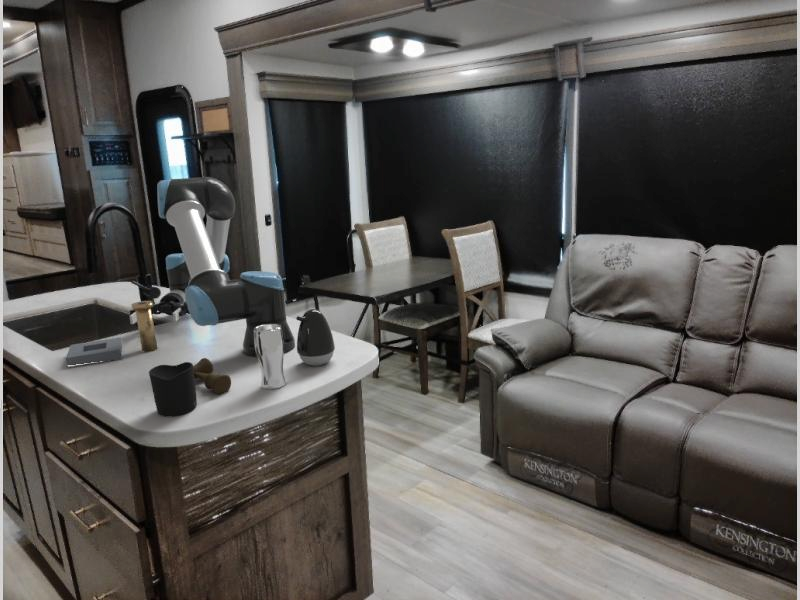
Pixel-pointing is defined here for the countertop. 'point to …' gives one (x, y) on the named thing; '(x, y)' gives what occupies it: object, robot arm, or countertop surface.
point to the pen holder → (174, 388)
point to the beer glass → (270, 355)
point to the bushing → (145, 325)
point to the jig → (94, 351)
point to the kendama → (211, 377)
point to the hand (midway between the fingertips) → (152, 318)
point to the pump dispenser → (314, 338)
